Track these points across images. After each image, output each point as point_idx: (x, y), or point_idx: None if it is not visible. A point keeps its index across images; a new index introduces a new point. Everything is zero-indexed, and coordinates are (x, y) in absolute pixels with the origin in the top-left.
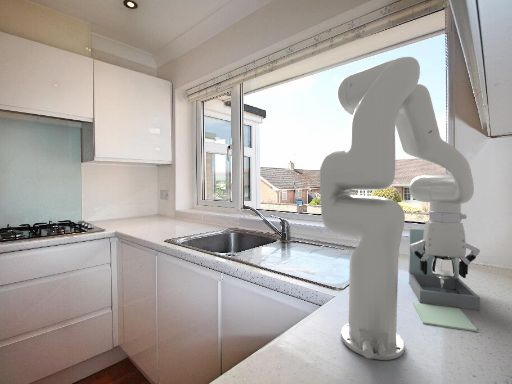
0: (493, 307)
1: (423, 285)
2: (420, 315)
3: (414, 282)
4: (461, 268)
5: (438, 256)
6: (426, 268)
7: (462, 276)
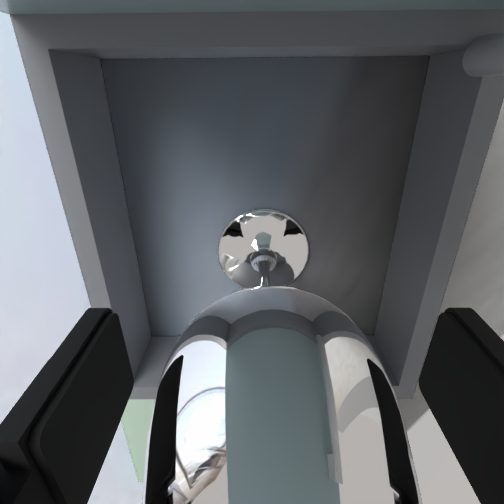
0: (480, 297)
1: (187, 56)
2: (132, 452)
3: (84, 263)
4: (471, 432)
5: (249, 485)
6: (105, 444)
7: (421, 390)
